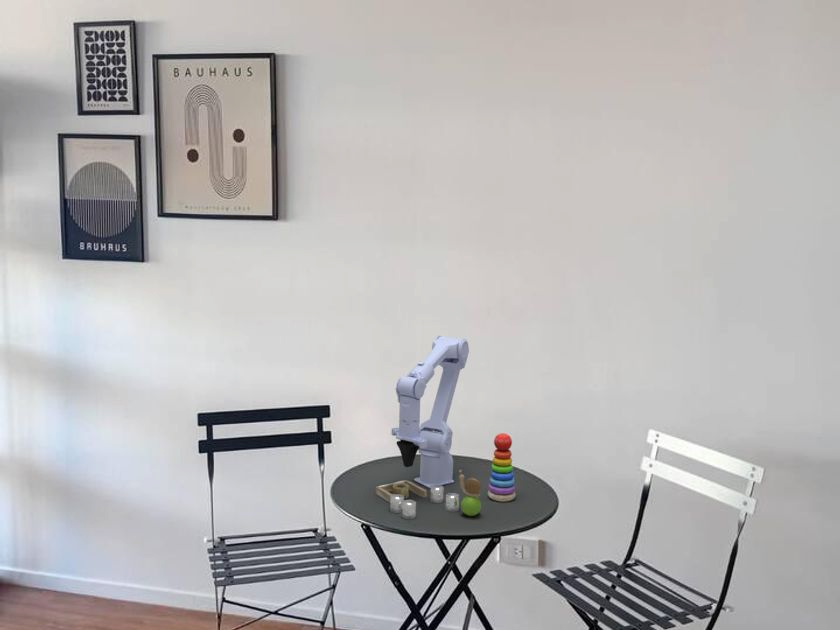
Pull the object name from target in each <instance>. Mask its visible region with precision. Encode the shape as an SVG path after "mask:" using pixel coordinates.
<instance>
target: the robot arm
mask: <svg viewBox="0 0 840 630" xmlns="http://www.w3.org/2000/svg"><path fill="white" fill-rule="evenodd" d="M469 353H470V348H469V343H468V341H467V339H466V338H457V337H449V336H442V335H437V336H436V337H434V339H433V341H432V344H431V351H430V352H429V354H428V355H427V357H426V358H425V359H424V360H423V361H422V360H421V361H419V362H417V364H416V365H414V367H413V368H412V369H411V370H410V371H409V372H408V374H407V375H406V376H405V375H403V376H401V377H399V379H398V380H397V382H396V387H395V393H396V395H397V401H398V403H399V416H398V418H399V419H398V427H393V428H391V433H390V434H391V436H394V437H395V438H396V439H397V440H398V441H396V445H397V447H398V448H399V451H400V455H401V459H402V463H403V466H404V467H405V468H410V467H413V464H414V462H415V458H416V455H417V453H418V454H420V461H419V462H420V466H419V469H420V470H419V477H415V478H414V479H413V480H414V482H417V483H418V484H421V485H422V486H424V487H426V488H428V489H431V486H433V485H441V486H443V485H444V486H445V485H448V484H449V485H450V484H453V483H455V481H454V479H453V476H454V475H453V470H454V459H453V455H452V454H451V453H450V451H451V448H452V444H453V443H452V439H453V433H454V432H453V430H452V428H451V427H450V426H449V425H448V422H447V421H448V417H449V414H450V410H451V407H452V403H453V399H454V395H455V391H456V387H457V384H458V380H459V376H460V372H461V370H463V369H465V367H466V364H467V362H468V361H467V360H468V356H469ZM438 366H440V367H442V373H441V377H440V380H439V384H438V388H437V392H436V394H435V395H436V396H435V399H434V403H433V406H432V410H431V414H430V418H429V419H427V420H426V421H424V422H422V423H421V422H420V420H421V419H420V418H421V398H422V397H423V396H424V394H425V390H426V388H427V384H428V383H429V382H430V381H431V380H432V378H433V377H434V375H435V369H436V368H437V367H438Z"/></svg>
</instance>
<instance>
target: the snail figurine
mask: <svg viewBox="0 0 840 630" xmlns="http://www.w3.org/2000/svg"><path fill="white" fill-rule="evenodd" d="M462 471H463V470H462V469H460V470H459V471H458V473H459V484H460V488H461V490H462V492H463V494H465V495H466V496H465V497H463V499H462V500H461V502H460V508H461V511H462V512H463V513H464V514H465V515H467V516H469V517H473V516H476V515H477V514H479V513H480V512H481V510H482V509H481V508H482V502H481V500H480V499H479V496H481V493H480V492H481V489H482V486H481V482H480V481H479V480H478V479H477V478H474V477H470V478H468V479H466V481H465V475H464V474H462Z"/></svg>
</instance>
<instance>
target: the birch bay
mask: <svg viewBox="0 0 840 630" xmlns="http://www.w3.org/2000/svg"><path fill="white" fill-rule="evenodd" d="M397 483H404V484H408V486H409V491H410V492H412V493H414V494H415V495H417V496H419V497H421V498H423V499H426V498H427V493H428V491H427V490H426V489H425V488H423V487H421V486H419V485H418V484H415V483H414V482H412V481H409V480H408V479H403V480H399V481H396V482H391V483H387V484H382V485H377V486H375V487H374V494H375V495H377V496H378V497H380V498H382V499H383V500H385V501H386V502H388V503H390V499H391V495H393V493H390V492H393V484H397Z"/></svg>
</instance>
